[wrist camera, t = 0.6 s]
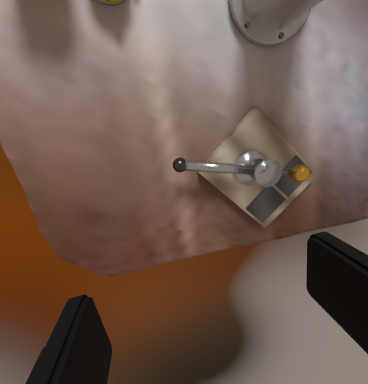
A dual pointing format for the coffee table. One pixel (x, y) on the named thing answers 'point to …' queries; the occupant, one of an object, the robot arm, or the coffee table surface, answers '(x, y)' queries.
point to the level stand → (273, 149)
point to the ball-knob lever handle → (247, 169)
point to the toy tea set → (110, 1)
